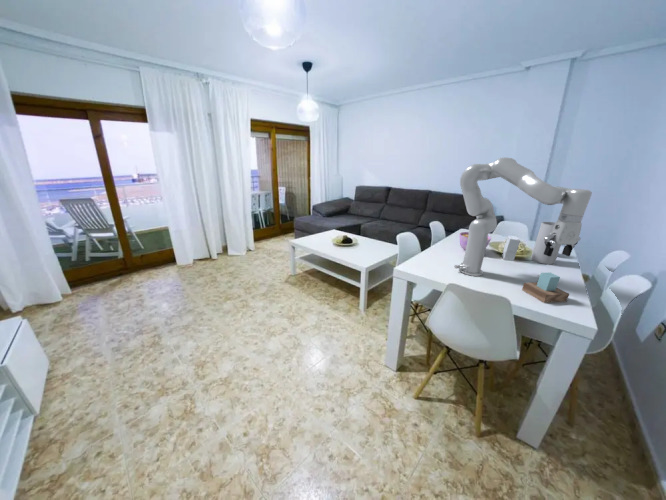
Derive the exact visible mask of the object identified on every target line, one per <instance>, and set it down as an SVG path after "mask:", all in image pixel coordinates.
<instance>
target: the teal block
mask: <svg viewBox="0 0 666 500" xmlns="http://www.w3.org/2000/svg"><path fill="white" fill-rule="evenodd" d="M560 279H561V276H559V275H557V274H555V273H552V272H540V275H539V277H538V280H537V282H538V283H537V286H538V287H539V288H541V289H543V290H545V291H555V290H556V288H558V284H559V282H560Z"/></svg>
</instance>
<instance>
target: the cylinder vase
mask: <svg viewBox="0 0 666 500" xmlns="http://www.w3.org/2000/svg"><path fill="white" fill-rule="evenodd" d="M555 223H556V222H554V221H542V222H541V223H540V226H539V227H540V228H539V230H538V234H537V236H536V241H535V244H534V247H533V249H532V253H531V256H530V260H532V261H533V262H536V263H537V264H542V265H554V264H555V263H556V261H557V257H558V255H559V252H560V250H561V249H560V248H561V247H562V245H559V244H556V245H555V246H554V247H553V248H554V250H553V252H552V255H551V256H547V255H544V251H545V248H546V246H545V243H544V242H545V240H544V238H545V237H547V236H549V235H550V234H551V231H552V229H553V227H554V225H555ZM552 244H553V243H551V245H552Z"/></svg>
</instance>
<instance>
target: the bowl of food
mask: <svg viewBox="0 0 666 500" xmlns="http://www.w3.org/2000/svg"><path fill="white" fill-rule="evenodd" d="M468 235H469V231H463V232H459V246H460V248H461V249H462V250H465V251H466V246H467V241H468ZM491 240H492V237H491V236H489V235H488V239H487V246H486V248H487V247H488V245H489V244H490V242H491Z"/></svg>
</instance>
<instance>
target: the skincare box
mask: <svg viewBox="0 0 666 500" xmlns="http://www.w3.org/2000/svg"><path fill="white" fill-rule="evenodd" d="M520 242H521V239H520V238H519V237H518V236H515V235H507V238H506V241H505V244H504V248H503V250H502V253H503V254H502V253H501V257H502V258H503V260H505V261H511V262H514V261H515V258H516V255H517V253H518V249H519V246H520Z"/></svg>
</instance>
